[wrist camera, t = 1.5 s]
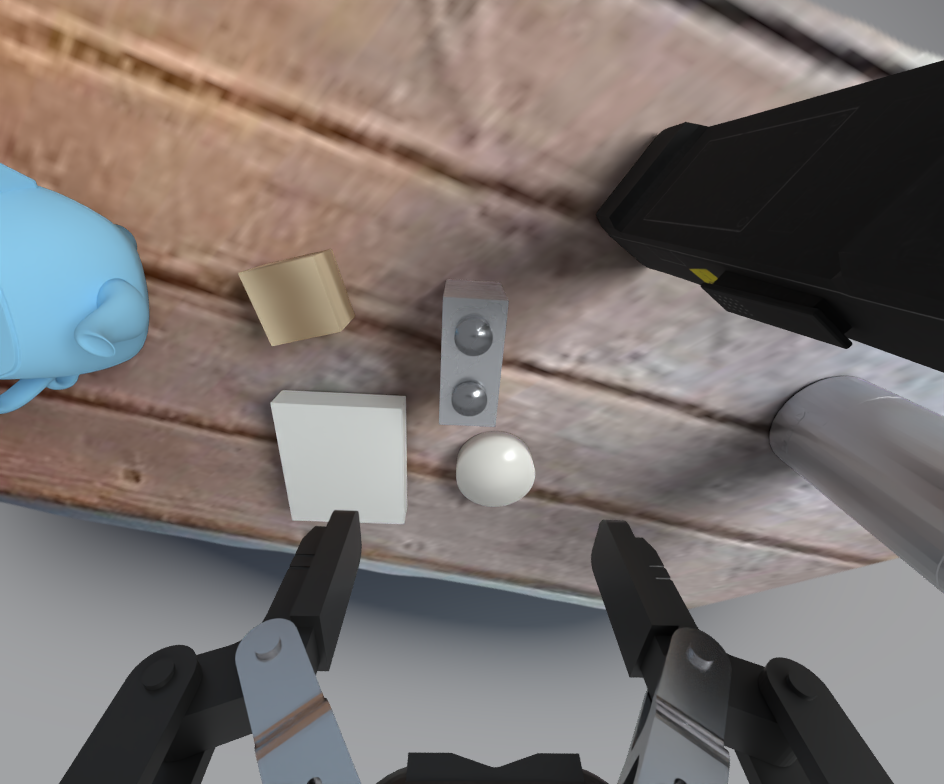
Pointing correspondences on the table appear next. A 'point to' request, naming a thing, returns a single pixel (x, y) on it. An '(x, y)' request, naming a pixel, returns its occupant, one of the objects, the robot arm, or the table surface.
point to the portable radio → (806, 214)
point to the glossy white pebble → (494, 469)
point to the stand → (343, 454)
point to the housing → (471, 351)
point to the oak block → (299, 297)
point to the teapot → (63, 290)
